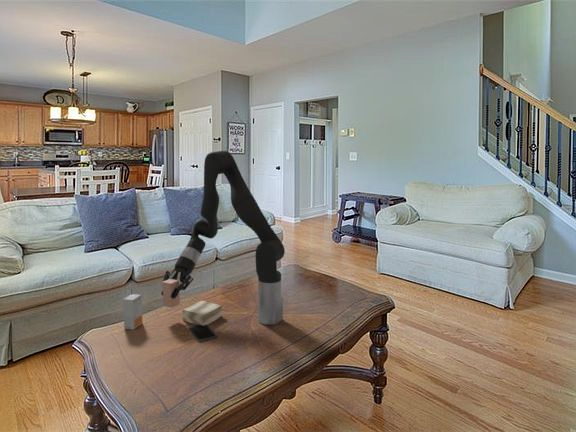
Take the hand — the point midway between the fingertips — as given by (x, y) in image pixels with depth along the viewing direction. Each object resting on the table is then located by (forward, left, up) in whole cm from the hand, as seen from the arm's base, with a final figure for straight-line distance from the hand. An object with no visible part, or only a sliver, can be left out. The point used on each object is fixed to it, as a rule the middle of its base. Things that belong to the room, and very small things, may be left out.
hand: (167, 296), depth 150 cm
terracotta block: (0, -2, -4) cm, 5 cm away
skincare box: (+8, +10, -10) cm, 17 cm away
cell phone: (-19, +1, -11) cm, 22 cm away
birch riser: (-10, -9, -11) cm, 17 cm away
